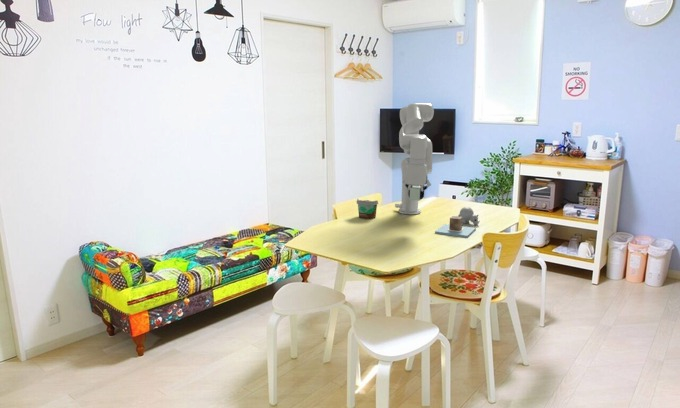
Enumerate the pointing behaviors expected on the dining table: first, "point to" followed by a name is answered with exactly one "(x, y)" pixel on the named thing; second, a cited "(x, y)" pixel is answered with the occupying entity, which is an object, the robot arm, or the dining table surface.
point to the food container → (367, 209)
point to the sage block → (415, 193)
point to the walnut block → (455, 223)
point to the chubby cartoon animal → (468, 216)
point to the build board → (462, 233)
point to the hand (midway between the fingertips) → (416, 197)
